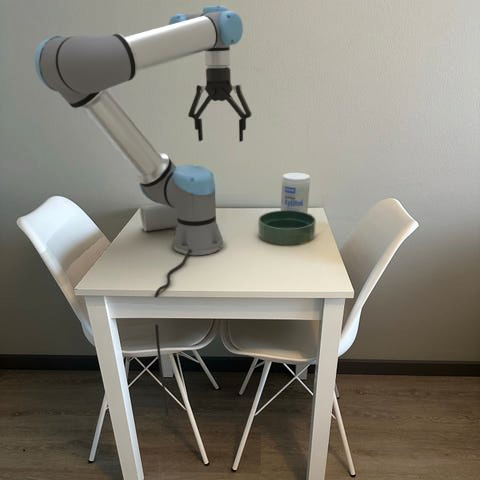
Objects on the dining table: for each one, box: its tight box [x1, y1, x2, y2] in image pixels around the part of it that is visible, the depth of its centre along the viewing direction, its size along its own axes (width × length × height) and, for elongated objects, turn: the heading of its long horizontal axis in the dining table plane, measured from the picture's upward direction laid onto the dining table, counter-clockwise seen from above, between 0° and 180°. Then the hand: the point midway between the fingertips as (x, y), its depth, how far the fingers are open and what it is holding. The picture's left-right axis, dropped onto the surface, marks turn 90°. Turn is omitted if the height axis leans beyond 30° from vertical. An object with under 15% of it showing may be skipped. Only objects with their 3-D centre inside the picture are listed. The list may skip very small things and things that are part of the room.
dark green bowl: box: [258, 210, 317, 246], centre depth 150 cm, size 18×18×6 cm
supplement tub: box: [280, 172, 311, 214], centre depth 163 cm, size 10×10×15 cm
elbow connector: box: [139, 203, 178, 232], centre depth 160 cm, size 18×11×20 cm
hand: (220, 140), depth 153 cm, fingers open, 13 cm apart
